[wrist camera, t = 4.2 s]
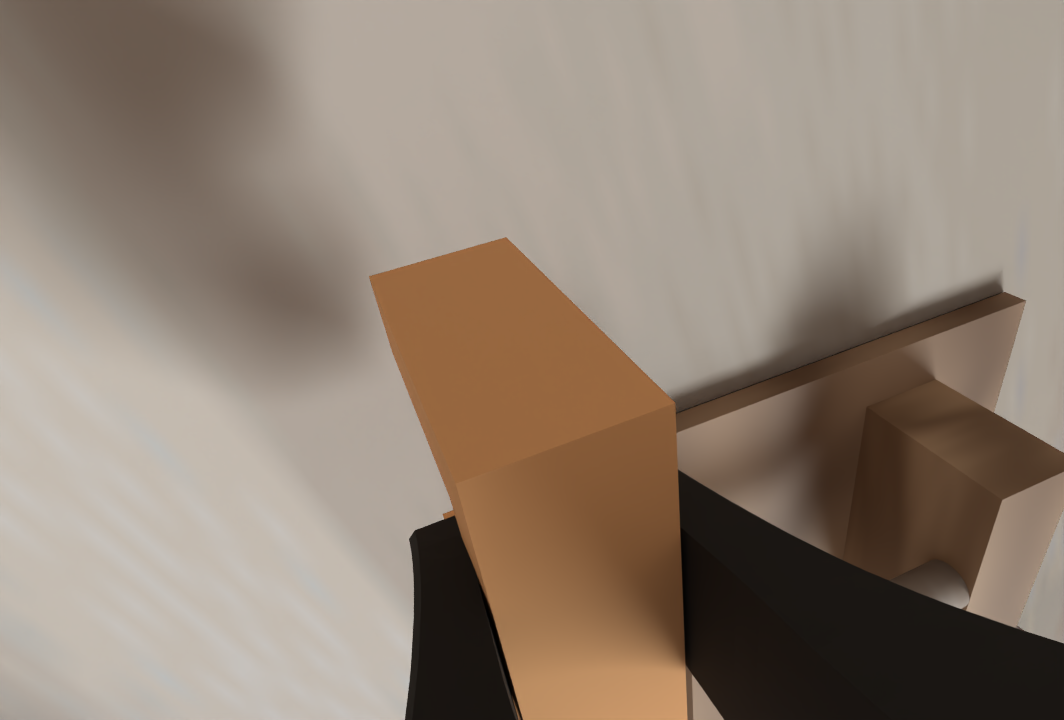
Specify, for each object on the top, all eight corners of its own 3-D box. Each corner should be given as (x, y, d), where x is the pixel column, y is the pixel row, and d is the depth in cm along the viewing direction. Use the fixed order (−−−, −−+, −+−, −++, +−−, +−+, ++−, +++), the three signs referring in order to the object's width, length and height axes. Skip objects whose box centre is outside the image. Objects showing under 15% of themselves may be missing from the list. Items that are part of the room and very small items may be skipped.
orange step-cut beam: (457, 562, 15) (551, 819, 10) (369, 276, 11) (455, 484, 6) (557, 523, 15) (689, 750, 11) (505, 237, 11) (675, 402, 7)
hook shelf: (539, 726, 26) (603, 890, 21) (475, 488, 19) (549, 652, 14) (938, 540, 31) (1064, 642, 26) (1004, 291, 24) (1193, 369, 19)
